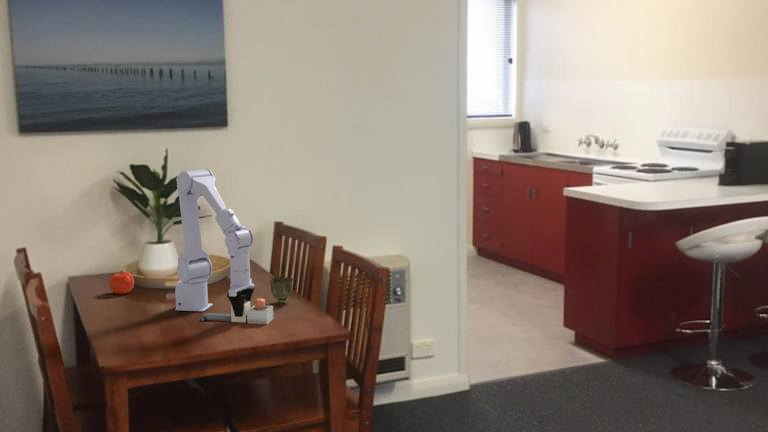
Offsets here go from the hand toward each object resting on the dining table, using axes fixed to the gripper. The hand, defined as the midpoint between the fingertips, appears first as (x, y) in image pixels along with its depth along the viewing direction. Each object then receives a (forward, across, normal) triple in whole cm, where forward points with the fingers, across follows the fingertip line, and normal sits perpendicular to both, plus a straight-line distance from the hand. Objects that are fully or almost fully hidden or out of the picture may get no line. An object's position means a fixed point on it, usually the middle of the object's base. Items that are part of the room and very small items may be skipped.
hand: (241, 314), depth 239 cm
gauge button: (-2, 0, -6) cm, 6 cm away
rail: (+2, 0, +5) cm, 5 cm away
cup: (+2, +21, -6) cm, 22 cm away
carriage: (+2, 0, 0) cm, 2 cm away
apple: (+2, +26, +52) cm, 58 cm away
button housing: (+2, 0, -6) cm, 6 cm away
